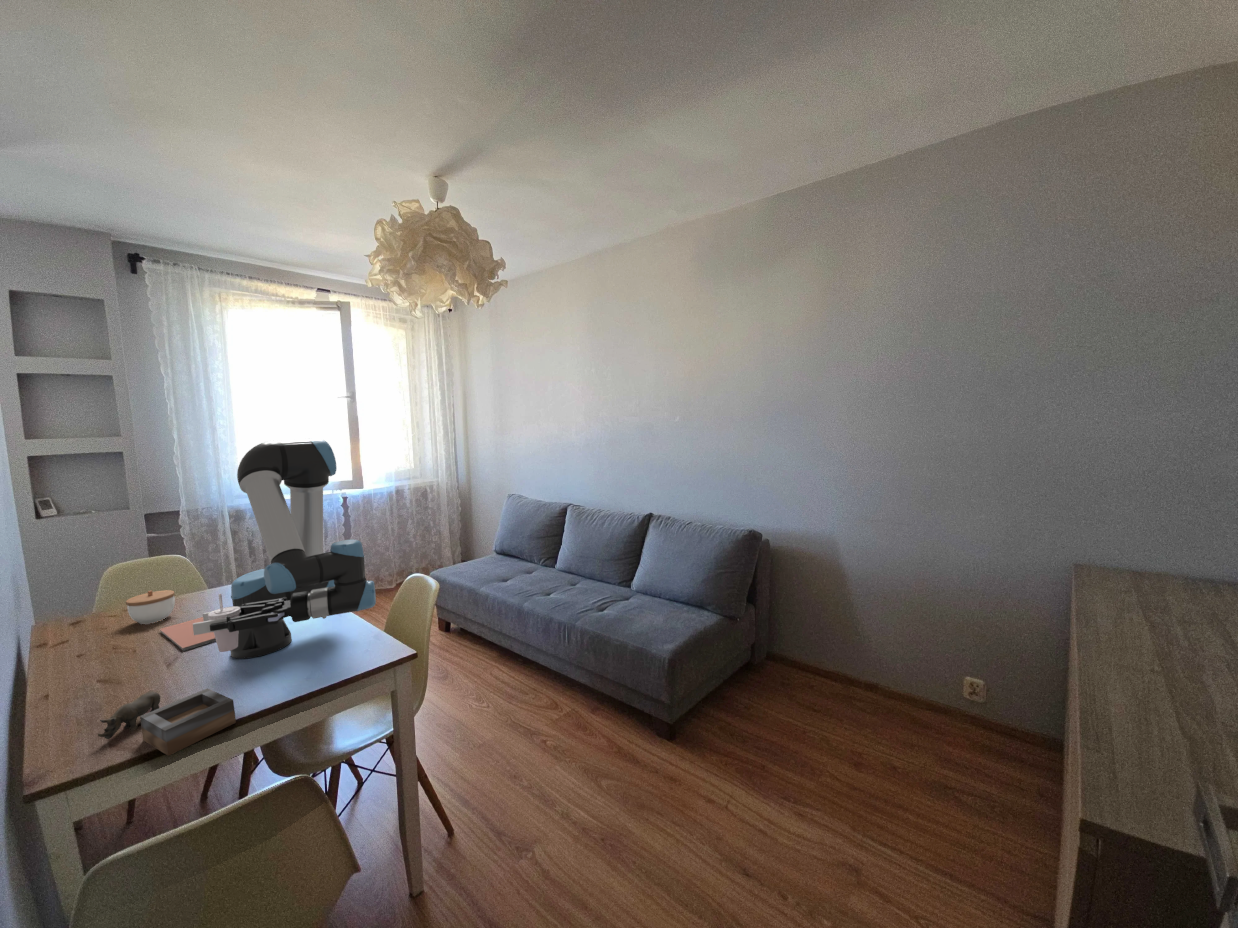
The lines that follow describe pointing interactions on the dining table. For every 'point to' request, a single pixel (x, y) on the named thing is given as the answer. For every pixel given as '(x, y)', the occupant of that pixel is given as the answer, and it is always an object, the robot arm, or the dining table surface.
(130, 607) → the lidded bowl
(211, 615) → the smoothie
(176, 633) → the notebook
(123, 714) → the rhino figurine
